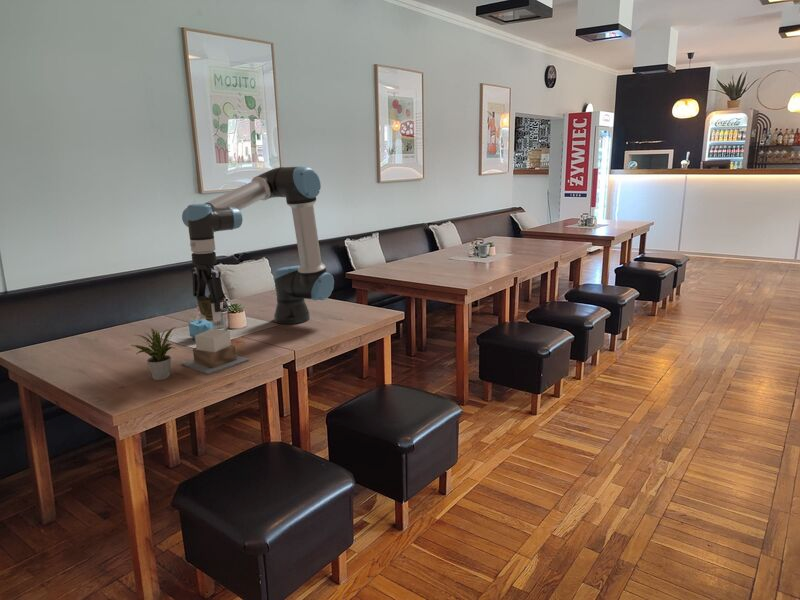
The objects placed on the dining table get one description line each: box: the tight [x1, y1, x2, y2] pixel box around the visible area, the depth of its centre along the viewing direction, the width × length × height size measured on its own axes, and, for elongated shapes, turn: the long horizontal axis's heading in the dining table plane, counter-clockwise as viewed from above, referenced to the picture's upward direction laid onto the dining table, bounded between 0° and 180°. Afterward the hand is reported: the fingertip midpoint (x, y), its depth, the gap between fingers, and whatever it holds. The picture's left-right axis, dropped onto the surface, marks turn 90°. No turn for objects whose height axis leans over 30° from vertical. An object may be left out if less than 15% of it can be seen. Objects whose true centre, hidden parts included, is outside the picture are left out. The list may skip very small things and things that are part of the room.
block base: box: [192, 344, 237, 368], centre depth 193 cm, size 10×10×5 cm
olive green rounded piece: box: [196, 294, 213, 322], centre depth 189 cm, size 8×7×8 cm
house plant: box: [130, 326, 177, 381], centre depth 182 cm, size 14×14×16 cm
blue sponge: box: [188, 318, 214, 340], centre depth 221 cm, size 12×6×8 cm, turn 50°
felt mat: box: [181, 354, 250, 376], centre depth 194 cm, size 16×16×1 cm
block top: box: [194, 328, 232, 352], centre depth 192 cm, size 8×8×5 cm
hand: (210, 319), depth 190 cm, fingers closed on olive green rounded piece, 7 cm apart
